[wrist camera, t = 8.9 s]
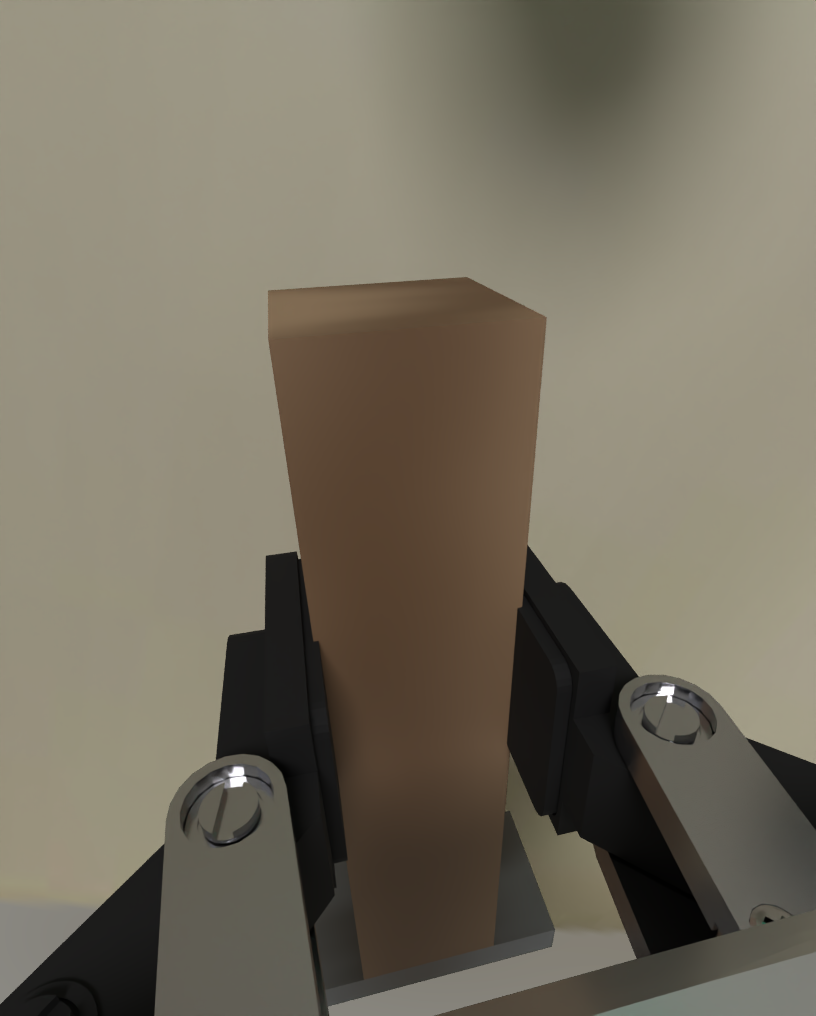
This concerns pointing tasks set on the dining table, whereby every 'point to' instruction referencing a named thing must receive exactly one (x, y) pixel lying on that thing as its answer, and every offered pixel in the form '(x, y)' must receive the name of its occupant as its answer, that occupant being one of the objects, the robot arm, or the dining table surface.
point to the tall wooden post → (415, 609)
